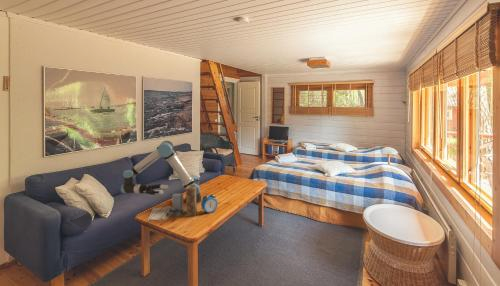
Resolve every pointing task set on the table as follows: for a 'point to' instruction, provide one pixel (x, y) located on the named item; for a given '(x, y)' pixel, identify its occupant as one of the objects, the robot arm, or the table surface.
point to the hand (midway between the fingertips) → (165, 189)
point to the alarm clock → (209, 203)
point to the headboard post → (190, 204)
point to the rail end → (177, 201)
